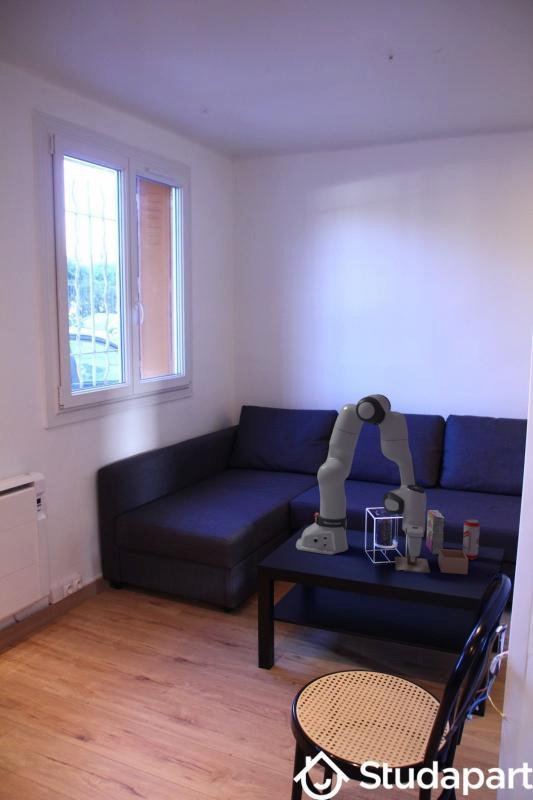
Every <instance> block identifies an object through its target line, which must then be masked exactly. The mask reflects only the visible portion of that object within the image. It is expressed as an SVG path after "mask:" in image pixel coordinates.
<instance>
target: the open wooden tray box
mask: <svg viewBox="0 0 533 800" xmlns="http://www.w3.org/2000/svg"><path fill="white" fill-rule="evenodd" d="M462 550H463V549H460V550H459V549H447V548H443V549H439V555H438V559H437V560H438V561H437V563H438V567H439V570H440V573H447V574H458V575H459V574H460V575H468V569H469V559H468V558H467V556H466V553H465V551H462Z"/></svg>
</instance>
